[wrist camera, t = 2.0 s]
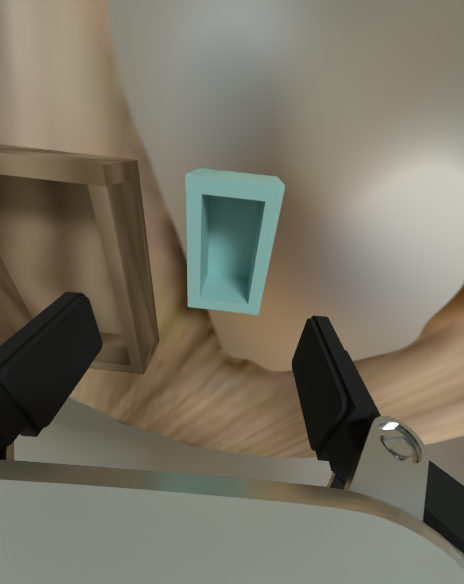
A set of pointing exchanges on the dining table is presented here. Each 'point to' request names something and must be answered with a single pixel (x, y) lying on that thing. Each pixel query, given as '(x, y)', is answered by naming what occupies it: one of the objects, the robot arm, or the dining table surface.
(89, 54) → the dining table surface
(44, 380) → the robot arm
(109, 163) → the big crate
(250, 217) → the small crate
